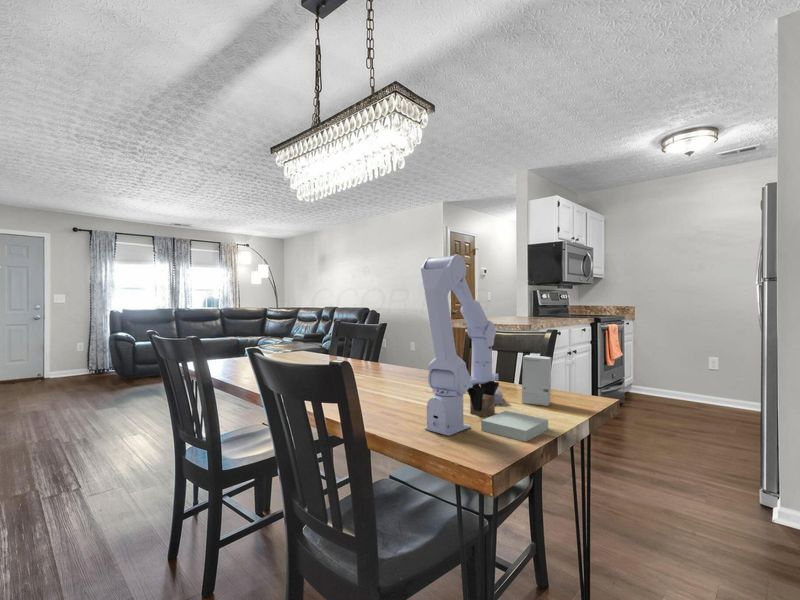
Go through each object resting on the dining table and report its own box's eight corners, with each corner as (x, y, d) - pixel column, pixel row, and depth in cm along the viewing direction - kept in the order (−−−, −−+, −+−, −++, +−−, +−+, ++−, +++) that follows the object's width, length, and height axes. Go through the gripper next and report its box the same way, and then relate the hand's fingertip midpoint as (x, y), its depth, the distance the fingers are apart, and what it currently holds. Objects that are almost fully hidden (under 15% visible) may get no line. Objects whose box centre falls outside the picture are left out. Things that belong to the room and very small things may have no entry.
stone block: (474, 411, 125) (506, 404, 125) (471, 396, 125) (502, 389, 125) (469, 403, 137) (498, 397, 136) (466, 389, 137) (495, 383, 137)
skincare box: (521, 403, 126) (521, 356, 126) (525, 399, 131) (524, 354, 131) (549, 406, 122) (549, 358, 122) (552, 402, 127) (551, 355, 127)
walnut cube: (485, 417, 112) (485, 399, 112) (470, 413, 115) (470, 396, 115) (494, 413, 115) (494, 396, 115) (480, 410, 119) (479, 393, 119)
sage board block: (525, 443, 92) (525, 430, 92) (481, 432, 100) (481, 420, 100) (548, 431, 100) (548, 419, 100) (505, 421, 109) (505, 410, 109)
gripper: (479, 366, 107) (480, 416, 107) (507, 360, 118) (507, 406, 118) (458, 363, 112) (459, 411, 112) (486, 357, 123) (487, 402, 123)
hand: (482, 408), depth 115 cm, fingers closed on walnut cube, 5 cm apart
